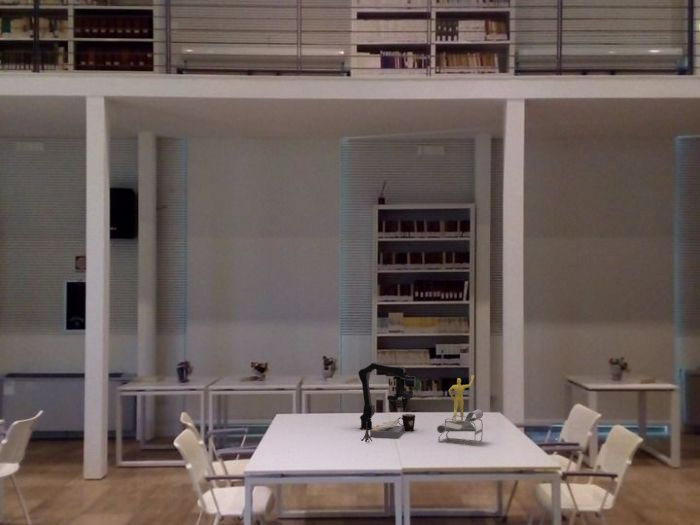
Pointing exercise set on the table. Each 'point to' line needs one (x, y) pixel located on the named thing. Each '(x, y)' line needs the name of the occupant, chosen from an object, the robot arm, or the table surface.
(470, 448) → the table surface
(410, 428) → the coffee mug
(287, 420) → the table surface
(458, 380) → the statue
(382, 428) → the rocker
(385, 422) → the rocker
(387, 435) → the console
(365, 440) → the eiffel tower figurine
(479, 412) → the chair
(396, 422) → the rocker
